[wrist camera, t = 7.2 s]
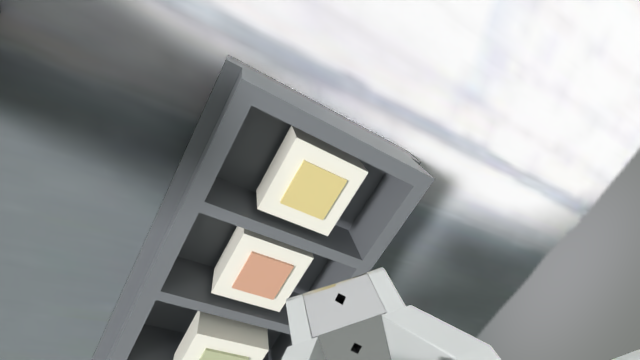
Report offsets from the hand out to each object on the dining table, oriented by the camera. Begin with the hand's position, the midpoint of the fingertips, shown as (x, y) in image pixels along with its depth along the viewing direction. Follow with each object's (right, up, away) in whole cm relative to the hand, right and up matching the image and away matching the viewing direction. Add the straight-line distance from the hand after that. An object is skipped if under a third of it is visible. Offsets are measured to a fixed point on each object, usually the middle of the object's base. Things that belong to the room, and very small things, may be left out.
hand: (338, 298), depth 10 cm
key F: (-4, -1, +10) cm, 11 cm away
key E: (-1, +4, +8) cm, 9 cm away
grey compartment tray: (-6, -2, +13) cm, 14 cm away
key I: (-6, -6, +10) cm, 13 cm away
